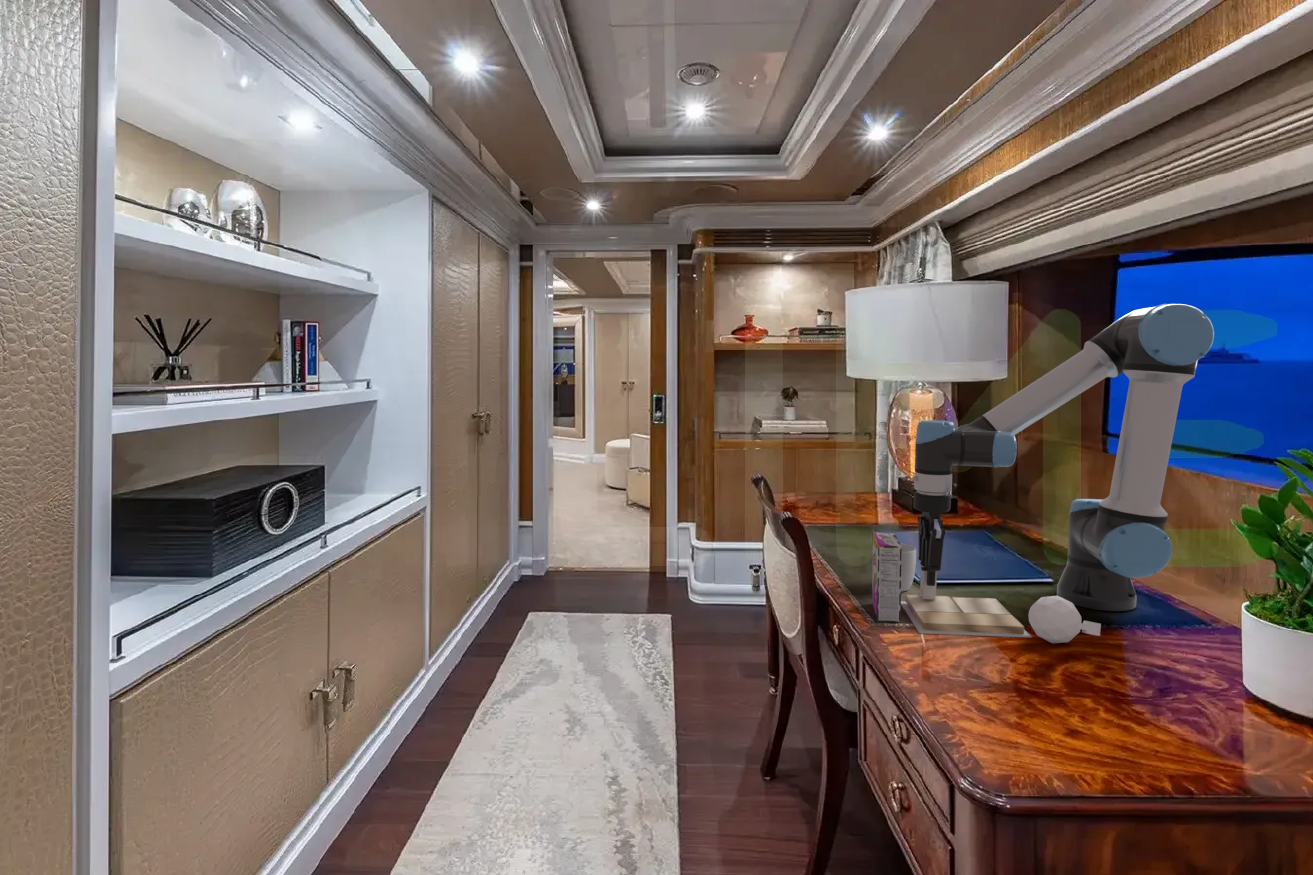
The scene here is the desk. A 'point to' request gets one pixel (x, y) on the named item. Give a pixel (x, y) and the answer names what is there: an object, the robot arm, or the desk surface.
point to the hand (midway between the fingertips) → (927, 597)
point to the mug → (907, 566)
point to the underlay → (920, 630)
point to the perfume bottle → (1058, 620)
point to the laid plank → (969, 622)
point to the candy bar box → (886, 577)
